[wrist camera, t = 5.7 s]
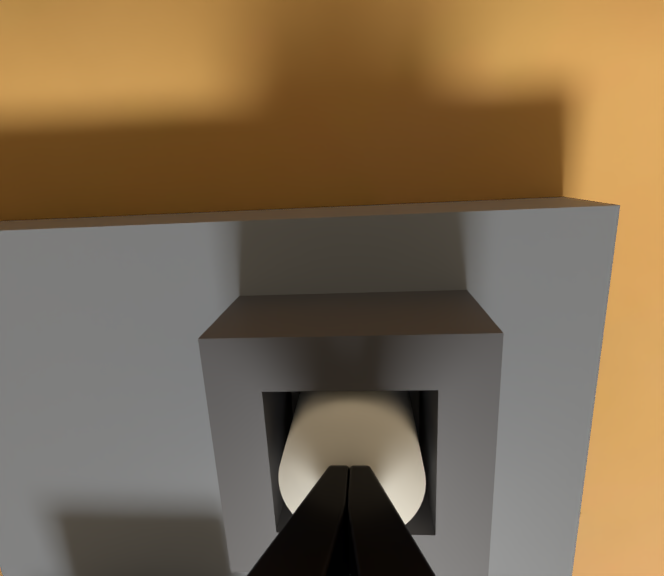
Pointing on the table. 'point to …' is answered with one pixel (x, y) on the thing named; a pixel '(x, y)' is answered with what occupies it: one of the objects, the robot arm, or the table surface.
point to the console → (295, 376)
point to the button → (354, 444)
